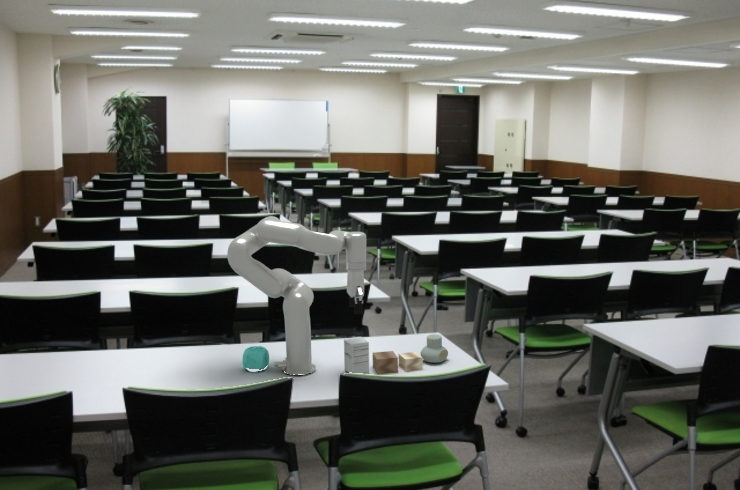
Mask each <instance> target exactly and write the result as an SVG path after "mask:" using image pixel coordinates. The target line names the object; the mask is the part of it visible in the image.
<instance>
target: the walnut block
mask: <svg viewBox="0 0 740 490" xmlns="http://www.w3.org/2000/svg"><path fill="white" fill-rule="evenodd" d="M372 368H373V370H374V372H375V371H376V372H375V373H376V374H377V375H385V374H393V373H394V374H395V373H399V356H397V355H396V353H395V352H394V351H393V350H388V351H376V352H375V351H374V352H372ZM380 373H381V374H380Z"/></svg>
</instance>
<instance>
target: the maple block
mask: <svg viewBox="0 0 740 490" xmlns="http://www.w3.org/2000/svg"><path fill="white" fill-rule="evenodd" d="M423 360H424V359H423V357H422V356H421V354H419V353H418V352H417V351H410V352H402V353H398V367H399V368H401V369H402V370H403V371H404V372H414V371H420V370H421V371H422V370H423V365H424V364H423V362H424V361H423Z"/></svg>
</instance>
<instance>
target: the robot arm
mask: <svg viewBox="0 0 740 490" xmlns="http://www.w3.org/2000/svg"><path fill="white" fill-rule="evenodd" d="M269 243H271V244H277V245H278V244H279V245H282V246H283V245H284V246H290V247H296V248H298V249H301V250H304V251H307V252H312V253H316V254H321V255H329V256H334V255H335V256H336V255H338V254H339V253H341V252H342V251H344V250H345V270H346V271H347V276H346V279H347V280H346V293H347V294H348V296H349V297H348V299H349V308H354V311H353V313H354V314H355V315H363V314H364V299H363V297H364V296H365V274H364V273H365V272H364V271H366V270H367V234H366V233H365V232H363V231H344V230H339V229H337V230H331V231H330V232H329V233H322V232H318V231H313V230H310V229H308V228H306V227H305V226H304V225H303V224H301V223H295V222H290V221H283V220H281V219H280V218H278V217H276V216H274V215H270V216H266V217H264V218H262V219H261V220H259V221H258V223H257V224H255V225H254V226H252V227H250V228H249V229H247V230H246V231H245V232H243V233H242V234H240V235H238V236H236V237H235V238H233V240H232V241H231V242H230V243H229V244H228V248H227V256H226V257H227V261H228V264H229V266H230V268H231V269H232V270H233V271H234V273H236V274H237V275H239V276H240V277H242V279H244V280H246V281H247V282H248V283H249V284H250V285H253V287H255V288H256V289H257V290H259V291H260V292H262V293H263V294H265V295H266V296H267V297H269V298H273V299H277V298H280V297H283V298H284V299H283V303H282V311H283V315H284V316H283V317H284V331H285V349H286V350H285V353H286V355H285V358H284V359H282V360H281V361H277V360H276V361H274V367H278V369H282V371H283V370H284V371H285V372H286V373H288V374H291V375H293V374H295V375H298V374H308V373H311V374H313V373H314V371H315V372H316V369H317V367H316V365H315V364H313V361H312V360H313V359H312V333H311V317H310V307H311V305H312V303H313V302H314V298H315V297H314V292H313V290H312V289H311V287H310V286H309V285H307V284H306V283H305V282H304V281H302V280H300V279H299V278H298V277H296V276H295V275H293V274H292V273H291V272H289V271H287V270H286V269H284V268H273V269H270V268H269V267H268V266H266V265H265V264H264V263H262V262H261V261H259V260H257V259H255V258H253V257H252V255H253V254H254V253H256V252H258V251H259V250H260V249H261V248H264V247H265V246H266V245H267V244H269ZM312 372H313V373H312ZM291 375H290V376H291ZM308 375H309V374H308Z"/></svg>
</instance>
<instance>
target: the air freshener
mask: <svg viewBox="0 0 740 490" xmlns="http://www.w3.org/2000/svg"><path fill="white" fill-rule="evenodd" d="M420 356H422V357H423V360H424V361H426V362H427V363H430V364H440V363H442V362H445V360H446V359H447V358H448V356H449V351H448V349H447V348H446V347H445V346H443V337H442V335H440V334H435V333H434V334H429V335H427V336H426V346H424V347H423V348H422V349H421V351H420Z"/></svg>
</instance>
